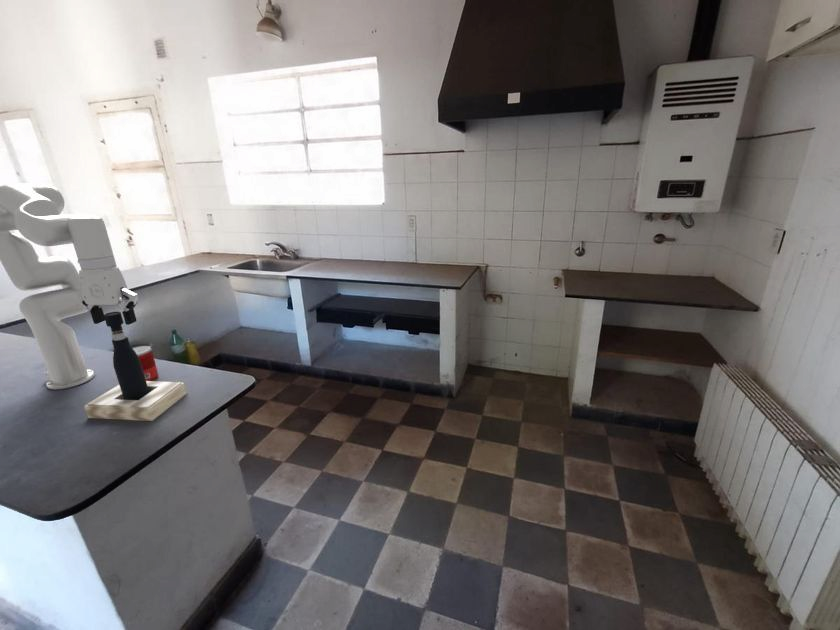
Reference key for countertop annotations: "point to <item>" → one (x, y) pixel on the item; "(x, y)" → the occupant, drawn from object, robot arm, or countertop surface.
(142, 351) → the canned food
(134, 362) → the black water bottle
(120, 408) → the holder block
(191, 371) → the countertop surface
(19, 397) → the countertop surface
